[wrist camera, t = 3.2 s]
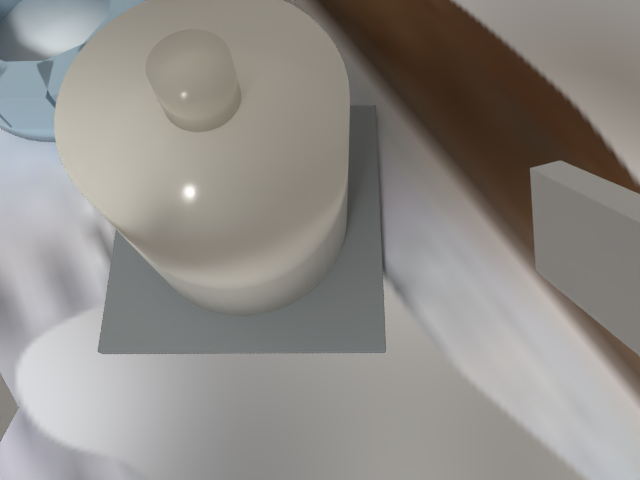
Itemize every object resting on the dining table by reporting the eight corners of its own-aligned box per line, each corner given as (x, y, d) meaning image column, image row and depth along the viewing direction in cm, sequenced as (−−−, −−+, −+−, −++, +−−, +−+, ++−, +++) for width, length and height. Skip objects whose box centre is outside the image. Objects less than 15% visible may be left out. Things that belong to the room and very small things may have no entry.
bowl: (-52, 143, 28) (-106, 100, 25) (-5, -20, 32) (-45, -77, 29) (162, 139, 28) (138, 95, 24) (183, -25, 32) (164, -83, 28)
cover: (137, 316, 24) (-7, 213, 14) (160, 135, 27) (57, -52, 17) (348, 315, 23) (354, 208, 14) (345, 132, 27) (348, -60, 17)
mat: (102, 354, 24) (97, 351, 23) (137, 115, 28) (134, 110, 28) (384, 352, 23) (385, 350, 23) (374, 111, 28) (375, 105, 27)
